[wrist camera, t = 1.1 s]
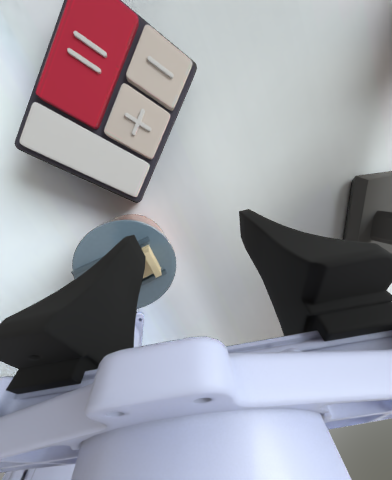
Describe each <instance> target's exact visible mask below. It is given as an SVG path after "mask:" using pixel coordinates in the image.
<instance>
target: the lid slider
mask: <svg viewBox="0 0 392 480" xmlns="http://www.w3.org/2000/svg"><path fill="white" fill-rule="evenodd" d="M141 249H142V251H143V253H144V255H145V256H146V259H145V270H144V275H143V278H145V277H147V276H149V275H151V274H154V275H155V277H156V278H157V277H159V276H161V275H162V273H161V267H160V265H159V263H158V261H157V259H156V257H155V256H154V254H153V252H152V250H151V248H150V246H149V245H146V246H144V247H142V248H141Z"/></svg>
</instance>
